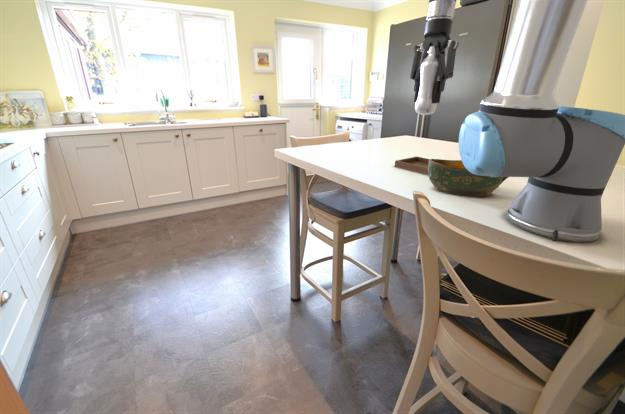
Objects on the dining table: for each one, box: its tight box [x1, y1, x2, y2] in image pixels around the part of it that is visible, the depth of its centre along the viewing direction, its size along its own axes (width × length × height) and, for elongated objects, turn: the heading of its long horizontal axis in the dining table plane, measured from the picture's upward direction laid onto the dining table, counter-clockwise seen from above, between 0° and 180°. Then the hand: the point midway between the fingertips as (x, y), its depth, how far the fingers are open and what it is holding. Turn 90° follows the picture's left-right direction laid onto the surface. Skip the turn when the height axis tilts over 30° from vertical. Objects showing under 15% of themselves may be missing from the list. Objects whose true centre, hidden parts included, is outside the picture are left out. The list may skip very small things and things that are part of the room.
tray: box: [394, 156, 431, 176], centre depth 100 cm, size 14×22×2 cm, turn 37°
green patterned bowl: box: [427, 158, 509, 198], centre depth 77 cm, size 13×20×10 cm, turn 49°
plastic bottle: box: [414, 46, 440, 116], centre depth 91 cm, size 6×7×20 cm
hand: (426, 102), depth 93 cm, fingers closed on plastic bottle, 6 cm apart
